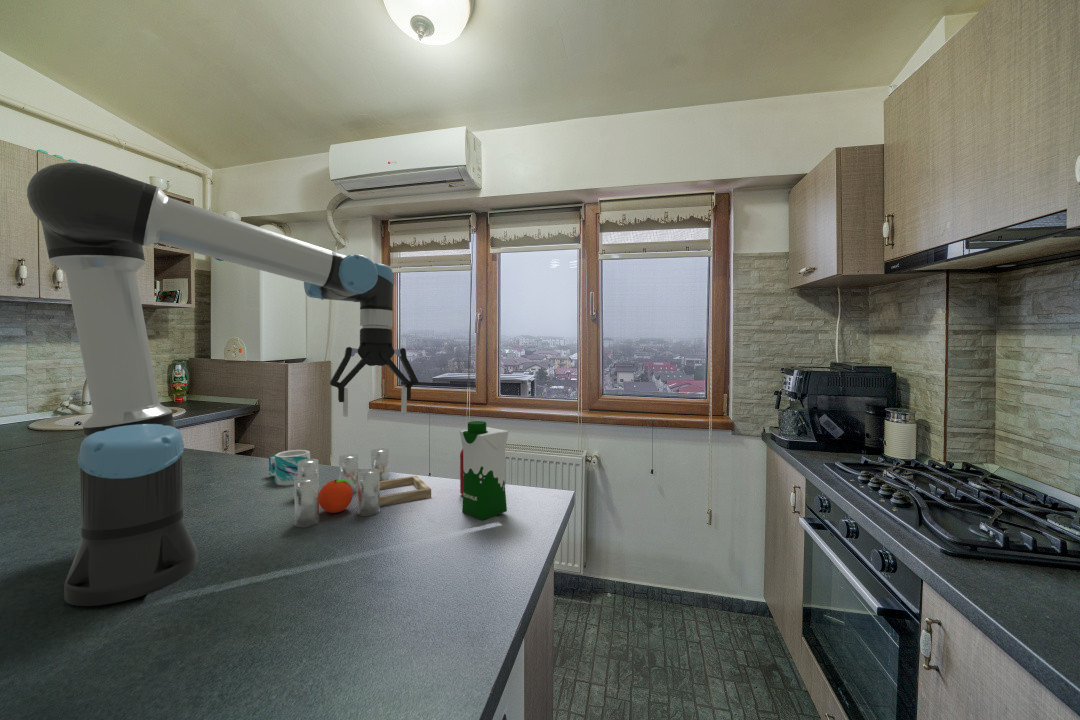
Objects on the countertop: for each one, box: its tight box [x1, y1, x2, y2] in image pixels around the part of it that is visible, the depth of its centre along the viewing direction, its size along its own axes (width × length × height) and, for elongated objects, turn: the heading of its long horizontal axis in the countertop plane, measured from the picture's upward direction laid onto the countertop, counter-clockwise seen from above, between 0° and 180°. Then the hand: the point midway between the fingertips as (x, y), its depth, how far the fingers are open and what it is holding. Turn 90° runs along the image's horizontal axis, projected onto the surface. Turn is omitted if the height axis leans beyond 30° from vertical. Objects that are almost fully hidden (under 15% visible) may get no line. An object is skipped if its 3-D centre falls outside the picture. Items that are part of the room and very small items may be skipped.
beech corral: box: [380, 475, 432, 507], centre depth 106 cm, size 13×13×2 cm
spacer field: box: [293, 447, 390, 529], centre depth 101 cm, size 24×22×9 cm
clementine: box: [319, 479, 354, 514], centre depth 95 cm, size 8×7×7 cm
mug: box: [268, 449, 311, 486], centre depth 115 cm, size 8×12×8 cm
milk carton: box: [459, 420, 509, 521], centre depth 94 cm, size 9×9×20 cm
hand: (375, 414), depth 105 cm, fingers open, 13 cm apart
